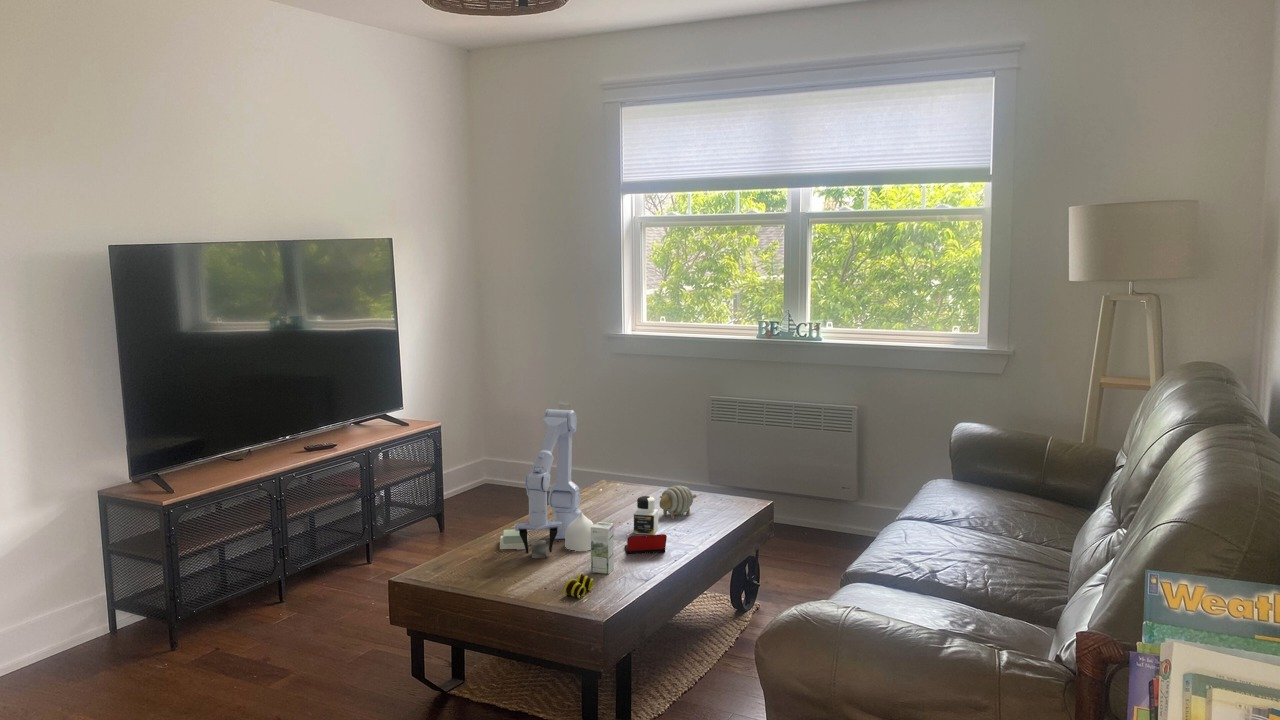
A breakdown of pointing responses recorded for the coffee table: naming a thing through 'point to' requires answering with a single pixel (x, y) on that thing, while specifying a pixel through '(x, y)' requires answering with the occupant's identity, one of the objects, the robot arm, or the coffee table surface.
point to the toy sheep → (676, 500)
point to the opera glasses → (578, 586)
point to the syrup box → (602, 547)
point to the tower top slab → (511, 537)
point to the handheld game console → (646, 544)
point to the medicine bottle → (646, 516)
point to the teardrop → (579, 534)
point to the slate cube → (539, 549)
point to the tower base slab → (511, 545)
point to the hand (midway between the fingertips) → (538, 551)
